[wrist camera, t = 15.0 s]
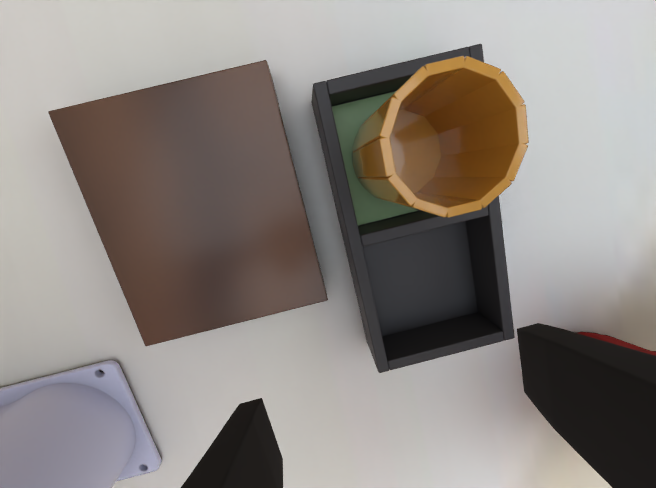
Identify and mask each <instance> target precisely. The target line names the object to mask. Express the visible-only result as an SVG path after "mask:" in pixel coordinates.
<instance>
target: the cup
mask: <svg viewBox="0 0 656 488" xmlns="http://www.w3.org/2000/svg"><path fill="white" fill-rule="evenodd" d="M500 71H501V69H499V68H497V67H494V66H492V65H489V64H486V63H484V62H481V61H479V60H476V59H474V58H471V57H468V56H466V57H464V56H459V57H455V58H450V59H446V60H442V61H438V62H433V63H429V64H426V65H425V66H422V67H421V68H420V69H419V70H418V71H417V72H416V73H415V74H414V75H413V76H412V77H410V78H409V79H408V80H407V81H406V82H405V83H404V84H403V85H402V86H401V87H400V88H399V89H398V90H397V91H396V92H395V93H394V94H393V95H392V96H391V97H390V98H389V99H387V100H386V101H385V102H384V103H383V104H382V105H381V106H380V107H379V108H378V109H377V110H376V111H375V112H374V113H373V114H372V115H371V116H370V117H369V118H368V119H367V120H366V121H365V122H364V123H363V124H362V125H361V127H359V130H358V132H357V134H356V137H355V139H354V143H353V147H352V164H353V168H354V172H355V174H356V177H357V179H358V180H359V182H360V184H361V185H362V186H363V187H364V188H365V189H366V190H367V191H368V192H369V193H370V194H371V195H372V196H374V197H375V198H379V199H382V200H385V201H388V202H392V203H395V204H398V205H402V206H405V207H409V208H412V209H416V210H419V211H423V212H426V213H430V214H434V215H437V216H441V217H448V218H449V217H453V216H457V215H461V214H465V213H470V212H474V211H478V210H481V209H482V208H485V207H486V206H487V205H488V204H489V203H491V202H492V201H493V200H494V199H495V198H496V197H497V196H498V195H500V194H501V193H502V192H503V191H504V190H505V189H506V188H507V187H509V186H510V185H511V184H512V183H511V181H514V179H515V177H516V174H517V172H518V169H519V167H520V164H521V162H522V159H523V157H524V154H525V152H526V150H527V147H528V145H526V144H527V143H528V142H529V141H528V129H527V116H526V105H525V104H523V103H524V100H523V99H522V97H521V96H520V94H519V93H518V91H517V90H516V89H515V87H514V86H513V84H512V83H511V81H510V80H509V78H508V77H507V76H506V74H505V73H504V72H503V71H502V72H500ZM522 104H523V105H522Z"/></svg>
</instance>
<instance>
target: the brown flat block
mask: <svg viewBox="0 0 656 488" xmlns="http://www.w3.org/2000/svg"><path fill="white" fill-rule="evenodd" d="M49 115H50V117H51V120H52V122H53V125H54V127H55V129H56V132H57V134H58V137H59V139H60V141H61V144H62V146H63V149H64V151H65V153H66V156H67V158H68V161H69V163H70V166H71V168H72V170H73V173H74V175H75V178H76V180H77V182H78V185H79V187H80V190H81V192H82V194H83V197H84V199H85V202H86V204H87V206H88V209H89V211H90V214H91V216H92V218H93V221H94V223H95V226H96V228H97V231H98V233H99V235H100V238H101V240H102V243H103V245H104V247H105V250H106V252H107V255H108V257H109V259H110V262H111V264H112V267H113V269H114V271H115V274H116V276H117V279H118V281H119V283H120V286H121V288H122V291H123V293H124V295H125V298H126V300H127V303H128V305H129V308H130V310H131V312H132V315H133V317H134V320H135V322H136V324H137V327H138V329H139V332H140V334H141V336H142V339H143V341H144V344H145V346H149V345H153V344H157V343H161V342H165V341H169V340H173V339H177V338H181V337H184V336H188V335H192V334H196V333H200V332H204V331H208V330H212V329H216V328H220V327H224V326H228V325H232V324H236V323H240V322H244V321H248V320H252V319H256V318H259V317H263V316H267V315H271V314H275V313H279V312H283V311H287V310H291V309H295V308H299V307H303V306H307V305H311V304H315V303H319V302H323V301H327V300H328V298H327V293H326V288H325V284H324V280H323V276H322V272H321V268H320V264H319V262H318V258H317V254H316V250H315V246H314V242H313V238H312V234H311V230H310V227H309V223H308V219H307V215H306V211H305V207H304V203H303V199H302V195H301V191H300V187H299V183H298V180H297V176H296V172H295V168H294V164H293V160H292V156H291V152H290V148H289V144H288V140H287V137H286V133H285V129H284V125H283V121H282V117H281V113H280V109H279V103H278V99H277V95H276V92H275V88H274V84H273V80H272V76H271V73H270V70H269V67H268V63H267V61H266V60H264V61H260V62H256V63H251V64H247V65H243V66H239V67H234V68H230V69H226V70H222V71H217V72H213V73H209V74H205V75H201V76H196V77H192V78H188V79H184V80H179V81H175V82H171V83H167V84H162V85H158V86H154V87H150V88H146V89H141V90H137V91H133V92H129V93H124V94H120V95H116V96H112V97H107V98H103V99H99V100H95V101H91V102H86V103H82V104H78V105H74V106H69V107H65V108H61V109H57V110H52V111H49Z"/></svg>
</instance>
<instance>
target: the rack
mask: <svg viewBox="0 0 656 488" xmlns="http://www.w3.org/2000/svg"><path fill="white" fill-rule="evenodd" d="M459 56H464V57H466V56H468V57H471V58H474V59H476V60H479V61H481V62H484V59H483V50H482V44H478V45H473V46H470V47H465V48H461V49H457V50H452V51H448V52H444V53H440V54H436V55H431V56H427V57H423V58H419V59H415V60H410V61H406V62H402V63H398V64H394V65H389V66H385V67H381V68H377V69H373V70H369V71H364V72H360V73H356V74H352V75H348V76H343V77H339V78H335V79H331V80H327V81H323V82H318V83H314V84H313V91H312V106H313V110H314V115H315V119H316V123H317V128H318V132H319V136H320V141H321V145H322V149H323V154H324V158H325V162H326V166H327V171H328V175H329V179H330V184H331V188H332V192H333V197H334V201H335V205H336V209H337V214H338V218H339V222H340V227H341V231H342V235H343V240H344V244H345V248H346V253H347V257H348V261H349V265H350V270H351V274H352V278H353V283H354V287H355V291H356V296H357V300H358V304H359V308H360V313H361V317H362V321H363V326H364V330H365V334H366V339H367V343H368V346H369V348H370V351H371V353H372V356H373V359H374V361H375V364H376V367H377V369H378V372H379V373H381V372H385V371H389V369H390V370H393V369H397V368H401V367H405V366H408V365H412V364H416V363H420V362H424V361H428V360H432V359H435V358H439V357H443V356H447V355H451V354H455V353H459V352H462V351H466V350H470V349H474V348H478V347H482V346H486V345H489V344H493V343H497V342H501V341H504V340H509V339H513V338H514V329H513V320H512V311H511V302H510V293H509V284H508V275H507V266H506V257H505V248H504V239H503V230H502V221H501V212H500V203H499V195H498V196H497V197H496V198H495V199H494V200H493V201H492V202H491V203H489V204H488V205H487V206H486V207H485V208H482V209H481V210H478V211H474V212H470V213H465V214H461V215H457V216H453V217H449V218H448V217H441V216H437V215H434V214H430V213H426V212H423V211H419V210H416V209H412V208H409V207H405V206H402V205H398V204H395V203H392V202H388V201H385V200H382V199H379V198H375V197H374V196H372V195H371V194H370V193H369V192H368V191H367V190H366V189H365V188H364V187H363V186H362V185H361V184H360V182H359V180H358V179H357V177H356V174H355V172H354V168H353V164H352V147H353V143H354V139H355V137H356V134H357V132H358V130H359V127H361V125H362V124H363V123H364V122H365V121H366V120H367V119H368V118H369V117H370V116H371V115H372V114H373V113H374V112H375V111H376V110H377V109H378V108H379V107H380V106H381V105H382V104H383V103H384V102H385V101H386V100H387V99H389V98H390V97H391V96H392V95H393V94H394V93H395V92H396V91H397V90H398V89H399V88H400V87H401V86H402V85H403V84H404V83H405V82H406V81H407V80H408V79H409V78H410V77H412V76H413V75H414V74H415V73H416V72H417V71H418V70H419V69H420V68H421V67H422V66H425V65H426V64H429V63H433V62H438V61H442V60H446V59H450V58H455V57H459Z"/></svg>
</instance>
